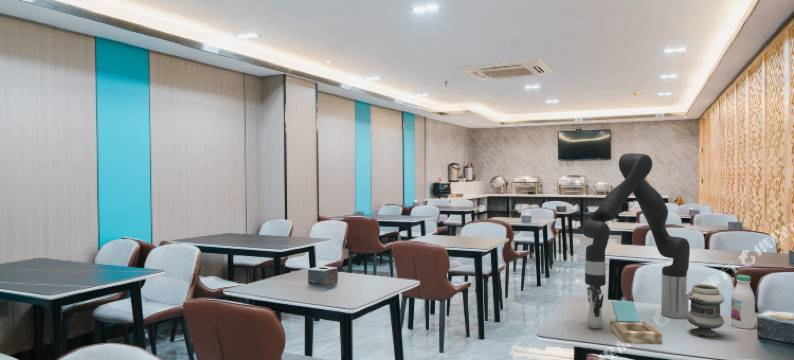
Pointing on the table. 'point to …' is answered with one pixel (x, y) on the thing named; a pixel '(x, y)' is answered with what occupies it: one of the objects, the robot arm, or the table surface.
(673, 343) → the table surface
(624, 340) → the socket block
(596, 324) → the salt shaker
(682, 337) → the table surface
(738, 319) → the milk bottle
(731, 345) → the table surface
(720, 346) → the table surface
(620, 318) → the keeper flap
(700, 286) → the apothecary jar
